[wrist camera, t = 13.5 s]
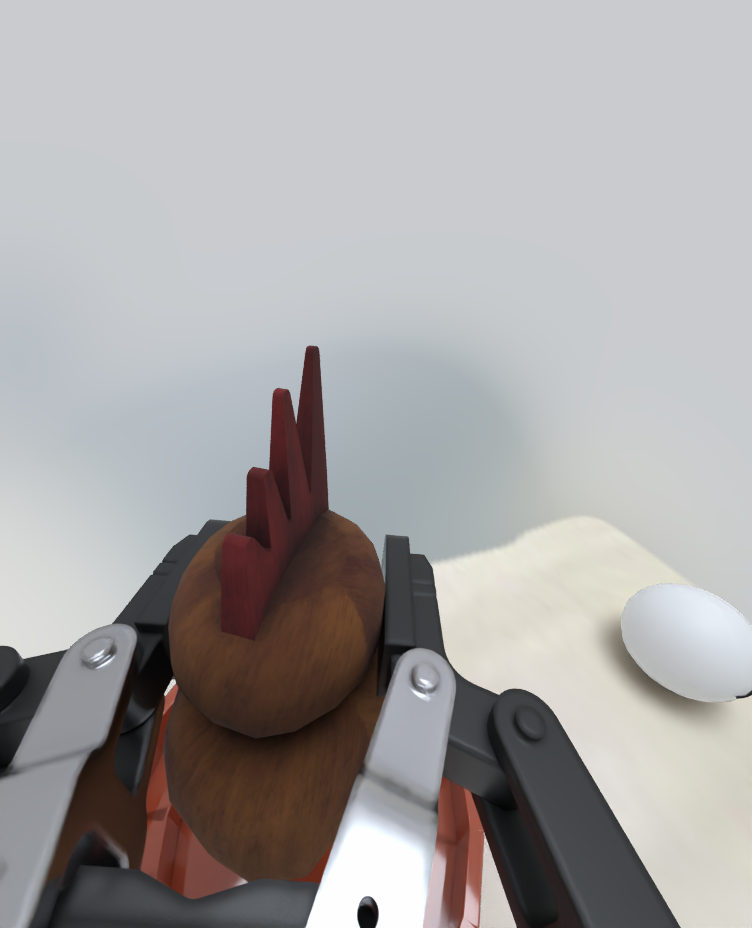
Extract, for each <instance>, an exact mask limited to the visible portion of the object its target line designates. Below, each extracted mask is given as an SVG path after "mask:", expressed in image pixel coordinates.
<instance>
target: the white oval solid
mask: <svg viewBox="0 0 752 928" xmlns="http://www.w3.org/2000/svg"><path fill="white" fill-rule="evenodd" d="M621 630H622V637H623V641H624V643H625V646H626V648H627V650H628V652H629V653H630V655H631V656H632V657H633V659H634V660H635V662H636V663H637V664H638V665H639V667H640V668H641V669H642V670H643V671H644V672H645V673H646V674H647V675H648V676H649V677H651V678H652V679H653V680H655V681H656V682H658V683H659V684H660V685H662V686H663V687H665V688H667V689H669V690H671V691H673V692H675V693H677V694H679V695H681V696H683V697H686V698H690V699H693V700H697V701H705V702H728V701H732V700H735V699H738V698H745V697H749V696H751V695H752V626H751V624H750V623H749V622H748V621H747V619H746V618H745V617H744V616H743V615H742V614H741V613H740V612H739V611H738V610H736V609H735V608H734V607H733V606H732V605H730V604H729V603H727V602H726V601H724V600H723V599H721V598H719V597H717V596H715V595H714V594H712V593H710V592H708V591H705V590H702V589H700V588H697V587H693V586H688V585H681V584H673V583H668V584H658V585H654V586H650V587H647V588H645V589H642V590H640V591H638V592H637V593H636V594H635V595H633V596H632V597H631V598H630V599H629V600H628V602H627V604H626V606H625V608H624V610H623V613H622V615H621Z"/></svg>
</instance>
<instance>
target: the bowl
mask: <svg viewBox="0 0 752 928" xmlns="http://www.w3.org/2000/svg"><path fill="white" fill-rule="evenodd" d="M177 691H178V686H177V684H175V685H174V687H173V688H172V689H171V690H170V691H169V693H168V694H167V695H166V696H165V706H164V711H163V716H162V721H161V726H160V731H159V736H158V741H157V745H156V750H155V755H154V760H153V765H152V770H151V775H150V780H149V785H148V790H147V797H146V810H147V835H146V843H145V849H144V854H143V860H142V865H141V871H143V872H144V873H146V874H148V875H149V876H151V877H153V878H154V879H156V880H158V881H160V882H161V883H163V884H165V885H166V886H168V887H170V888H171V889H173V890H175V891H176V892H178V893H180V894H182V895H183V896H185V897H187V898H189V899H197V898H201V897H204V896H208V895H211V894H214V893H217V892H220V891H223V890H226V889H229V888H233V887H236V886H239V885H242V884H245V883H248V882H247V881H246V880H244V879H243V878H241V877H240V876H238V875H237V874H235V873H234V872H232V871H231V870H230V869H228V868H227V867H225V866H224V865H222V864H221V863H219V862H218V861H216V860H215V859H214V858H213V857H212V856H211V855H210V854H208V853H207V851H206V850H205V849H204V847H203V846H202V845H201V843H200V842H199V841H198V839H197V838H196V837H195V835H194V834H193V833H192V831H191V830H190V829H189V827H188V826H187V825H186V823H185V822H184V821H183V819H182V818H181V817H180V815H179V814H178V812H177V811H176V809H175V808H174V807H173V805H172V804H171V802H170V801H169V795H168V787H167V779H166V771H165V764H164V756H163V742H164V735H165V729H166V726H167V723H168V720H169V716H170V713H171V710H172V707H173V703H174V700H175V697H176V694H177ZM333 844H334V843H333ZM333 844H332V845H331V846H330V848H329V849H328V850H327V852H326V853H325V854H324V855H323V857H322V858H321V859H320V861H319V862H318V863H317V865H316V866H315V867H314V868H313V870H312V871H311V872H310V874H309V875H308V876H307V877H302V878H297V879H293V880H288V881H301V882H314V883H319V886H320V883H321V880H322V877H323V874H324V871H325V868H326V865H327V862H328V859H329V856H330V853H331V850H332V847H333ZM483 851H484V830H483V827H482V824H481V821H480V818H479V815H478V812H477V809H476V807H475V804H474V801H473V798H472V795H471V792H470V791H469V790H467V789H465V788H463V787H461V786H460V785H458V784H456V783H454V782H452V781H450V780H448V779H446V778H444V777H443V776H442V779H441V785H440V792H439V799H438V828H437V836H436V843H435V850H434V857H433V863H432V870H431V876H430V883H429V889H428V895H427V902H426V908H425V915H424V921H423V928H479V923H480V905H481V887H482V869H483Z"/></svg>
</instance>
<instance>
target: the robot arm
mask: <svg viewBox="0 0 752 928" xmlns="http://www.w3.org/2000/svg"><path fill="white" fill-rule="evenodd" d="M229 522H231V521H221V520H209V521H207V522H206V524H205V525H204V527H203V528H202V529H201V530H200V532H199V533H198V535H188V536H187V537H186V538H184V539H183V540H181V541H180V542H179V543H177V544H176V545H174V546H173V547H172V549H171V550H170V551H169V552H168V554H167V555H166V556H165V557H164V559H163V561H162V563H160V564H159V565H158V566H157V568H156V569H155V570H154V571H153V575H150V577H149V578H148V579H147V580H146V582H145V583H144V584H143V586H142V587H141V588H140V589H139V591H138V592H137V593H136V594H135V596H134V597H133V598H132V600H131V601H130V602H129V604H128V605H127V606H126V607H125V609H124V610H123V611H122V612H121V614H120V615H119V616H118V617H117V619H116V620H115V621H114V622H113V623H112V624H111V625H107V626H103V627H100V628H98V629H95V630H93V631H92V632H90V633H88V634H86V635H84V636H83V637H82V638H80V639H79V640H78V641H77V642H75V643H74V644H73V645H72V646H71V647H70V648H69V649H68V650H64V651H59V652H54V653H50V654H45V655H40V656H36V657H31V658H27V659H22V657H21V656H20V655H19V654H18V652H17V651H16V650H15V649H14V648H12V647H9V646H0V928H423V921H424V915H425V908H426V902H427V895H428V889H429V883H430V876H431V870H432V863H433V857H434V850H435V843H436V836H437V828H438V799H439V792H440V785H441V779H442V776H443V777H444V778H446V779H448V780H450V781H452V782H454V783H456V784H458V785H460V786H461V787H463V788H465V789H467V790H469V791H470V792H471V795H472V798H473V801H474V804H475V807H476V809H477V812H478V815H479V818H480V821H481V824H482V827H483V830H484V833H485V836H486V839H487V842H488V844H489V847H490V850H491V853H492V856H493V859H494V862H495V865H496V868H497V871H498V874H499V876H500V879H501V882H502V885H503V888H504V891H505V894H506V897H507V900H508V903H509V906H510V909H511V911H512V914H513V917H514V920H515V923H516V926H517V928H681V927H680V926H679V924H678V922H677V921H676V919H675V917H674V916H673V914H672V912H671V910H670V909H669V907H668V905H667V904H666V902H665V900H664V899H663V897H662V895H661V893H660V892H659V890H658V888H657V887H656V885H655V883H654V882H653V880H652V878H651V877H650V875H649V873H648V871H647V870H646V868H645V866H644V865H643V863H642V861H641V860H640V858H639V856H638V854H637V853H636V851H635V849H634V848H633V846H632V844H631V843H630V841H629V839H628V837H627V836H626V834H625V832H624V831H623V829H622V827H621V826H620V824H619V822H618V820H617V819H616V817H615V815H614V814H613V812H612V810H611V809H610V807H609V805H608V803H607V802H606V800H605V798H604V797H603V795H602V793H601V792H600V790H599V788H598V786H597V785H596V783H595V781H594V780H593V778H592V776H591V775H590V773H589V771H588V769H587V768H586V766H585V764H584V763H583V761H582V759H581V758H580V756H579V754H578V752H577V751H576V749H575V747H574V746H573V744H572V742H571V741H570V739H569V737H568V735H567V734H566V732H565V730H564V729H563V727H562V725H561V724H560V722H559V720H558V719H557V717H556V715H555V714H554V712H553V711H552V710H551V709H550V707H549V706H548V705H547V704H546V703H545V702H544V701H543V700H541V699H540V698H539V697H537V696H536V695H534V694H532V693H530V692H528V691H526V690H522V689H509V690H506V691H504V692H503V693H501V694H500V695H498V694H495V693H493V692H491V691H488V690H486V689H484V688H482V687H479V686H477V685H475V684H473V683H471V682H469V681H467V680H466V679H464V678H463V677H462V676H461V675H460V674H458V673H457V671H456V670H455V669H454V668H453V667H452V665H451V664H450V662H449V660H448V658H447V656H446V653H445V650H444V644H443V637H442V630H441V623H440V616H439V609H438V602H437V599H436V589H435V582H434V575H433V568H432V566H431V565H430V563H429V562H428V560H427V559H426V557H425V556H424V555H420V554H410V548H409V538H408V537H407V536H394V535H386V536H385V543H384V551H383V559H382V567H381V570H382V574H383V578H384V582H385V601H384V611H383V619H382V626H381V633H380V638H379V643H378V666H377V696H379V697H385V699H384V702H383V705H382V708H381V711H380V714H379V717H378V721H377V724H376V727H375V730H374V733H373V736H372V739H371V742H370V745H369V748H368V751H367V754H366V757H365V759H364V762H363V765H362V767H361V769H360V770H359V772H358V775H357V777H356V780H355V783H354V785H353V788H352V791H351V794H350V797H349V800H348V803H347V806H346V809H345V812H344V815H343V818H342V821H341V823H340V826H339V829H338V832H337V835H336V838H335V841H334V844H333V847H332V850H331V853H330V856H329V859H328V862H327V865H326V868H325V871H324V874H323V877H322V880H321V883H320V886H319V883H314V882H301V881H287V880H274V879H258V880H255V881H251V882H248V883H245V884H242V885H239V886H236V887H233V888H229V889H226V890H223V891H220V892H217V893H214V894H211V895H208V896H204V897H201V898H197V899H189V898H187V897H185V896H183V895H182V894H180V893H178V892H176V891H175V890H173V889H171V888H170V887H168V886H166V885H165V884H163V883H161V882H160V881H158V880H156V879H154V878H153V877H151V876H149V875H148V874H146V873H144V872H143V871H141V865H142V860H143V854H144V849H145V843H146V835H147V810H146V797H147V790H148V785H149V780H150V775H151V770H152V765H153V760H154V755H155V750H156V745H157V741H158V736H159V731H160V726H161V721H162V716H163V711H164V706H165V696H164V693H165V691H166V689H167V687H168V685H169V683H170V681H171V680H172V679H175V677H174V673H173V669H172V666H171V656H170V644H169V632H168V624H169V618H170V611H171V605H172V601H173V598H174V596H175V593H176V591H177V588H178V585H179V583H180V580H181V578H182V575H183V573H184V571H185V570H186V568H187V567H188V565H189V564H190V562H191V561H192V559H193V558H194V556H195V555H196V554H197V553H198V551H199V550H200V549H201V548H202V546H203V545H204V544H205V543H206V541H207V540H208V539H209V538H210V537H211V536H212V535H214V534H215V533H216V532H217V531H219V530H220V529H221V528H223V527H224V526H225V525H226V524H228V523H229Z"/></svg>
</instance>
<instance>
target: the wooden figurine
mask: <svg viewBox="0 0 752 928" xmlns="http://www.w3.org/2000/svg"><path fill="white" fill-rule="evenodd" d="M320 371H321V370H320V355H319V348H318V347H317V346H308V347H307V348H306V353H305V360H304V368H303V376H302V384H301V391H300V399H299V407H298V415H297V423H296V421H295V417H294V411H293V406H292V400H291V396H290V392H289V390H287V389H281V388H277V389H275V391H274V393H273V400H272V421H271V423H272V424H271V443H270V464H269V465H270V466H269V470H267V469H262V468H256V467H253V468H251V469H250V470H249V472H248V475H247V497H246V498H247V499H246V500H247V501H246V515H245V516H243V517H241V518H238V519H236V520H233V521H231V522H229V523H228V524H226V525H225V526H224V527H223V528H221V529H220V530H219V531H217V532H216V533H215V534H214V535H212V536H211V537H210V538H209V539H208V540H207V541H206V543H205V544H204V545H203V546H202V548H201V549H200V550H199V551H198V553H197V554H196V555H195V556H194V558H193V559H192V561H191V562H190V564H189V565H188V567H187V568H186V570H185V571H184V573H183V575H182V578H181V580H180V583H179V585H178V588H177V591H176V593H175V596H174V598H173V601H172V605H171V611H170V618H169V624H168V632H169V644H170V656H171V666H172V669H173V673H174V677H175V680H176V684H177V686H178V691H177V694H176V697H175V700H174V703H173V707H172V710H171V713H170V716H169V720H168V723H167V726H166V729H165V735H164V742H163V756H164V764H165V771H166V779H167V787H168V795H169V801H170V802H171V804H172V805H173V807H174V808H175V809H176V811H177V812H178V814H179V815H180V817H181V818H182V819H183V821H184V822H185V823H186V825H187V826H188V827H189V829H190V830H191V831H192V833H193V834H194V835H195V837H196V838H197V839H198V841H199V842H200V843H201V845H202V846H203V847H204V849H205V850H206V851H207V853H208V854H210V855H211V856H212V857H213V858H214V859H215V860H216V861H218V862H219V863H221V864H222V865H224V866H225V867H227V868H228V869H230V870H231V871H232V872H234V873H235V874H237V875H238V876H240V877H241V878H243V879H244V880H246V881H247V882H251V881H255V880H258V879H274V880H287V881H288V880H293V879H297V878H302V877H307V876H308V875H309V874H310V872H311V871H312V870H313V868H314V867H315V866H316V865H317V863H318V862H319V861H320V859H321V858H322V857H323V855H324V854H325V853H326V852H327V850H328V849H329V848H330V846H331V845H332V844H333V843H334V841H335V838H336V835H337V832H338V829H339V826H340V823H341V821H342V818H343V815H344V812H345V809H346V806H347V803H348V800H349V797H350V794H351V791H352V788H353V785H354V783H355V780H356V777H357V775H358V772H359V770H360V769H361V767H362V765H363V762H364V759H365V757H366V754H367V751H368V748H369V745H370V742H371V739H372V736H373V733H374V730H375V727H376V724H377V721H378V717H379V714H380V711H381V708H382V705H383V702H384V699H385V697H379V696H377V666H378V643H379V638H380V633H381V626H382V619H383V611H384V601H385V582H384V578H383V574H382V570H381V566H380V562H379V559H378V556H377V553H376V550H375V548H374V545H373V543H372V542H371V541H370V540H369V539H368V537H367V536H366V535H365V534H364V533H363V531H362V530H361V529H360V528H359V527H358V525H356V524H355V523H353V522H352V521H350V520H348V519H346V518H344V517H342V516H340V515H338V514H336V513H335V512H333V511H330V510H329V508H328V488H327V468H326V452H325V435H324V419H323V402H322V386H321V372H320Z"/></svg>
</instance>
